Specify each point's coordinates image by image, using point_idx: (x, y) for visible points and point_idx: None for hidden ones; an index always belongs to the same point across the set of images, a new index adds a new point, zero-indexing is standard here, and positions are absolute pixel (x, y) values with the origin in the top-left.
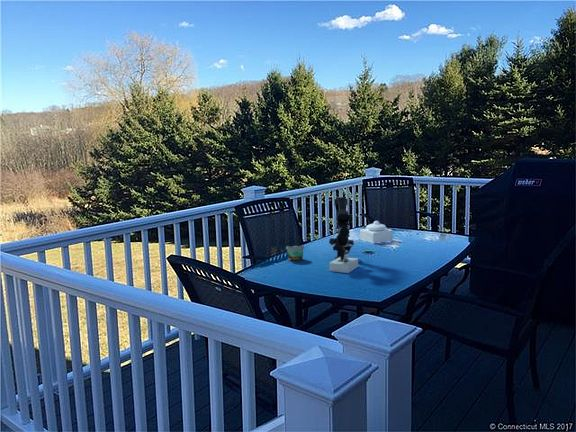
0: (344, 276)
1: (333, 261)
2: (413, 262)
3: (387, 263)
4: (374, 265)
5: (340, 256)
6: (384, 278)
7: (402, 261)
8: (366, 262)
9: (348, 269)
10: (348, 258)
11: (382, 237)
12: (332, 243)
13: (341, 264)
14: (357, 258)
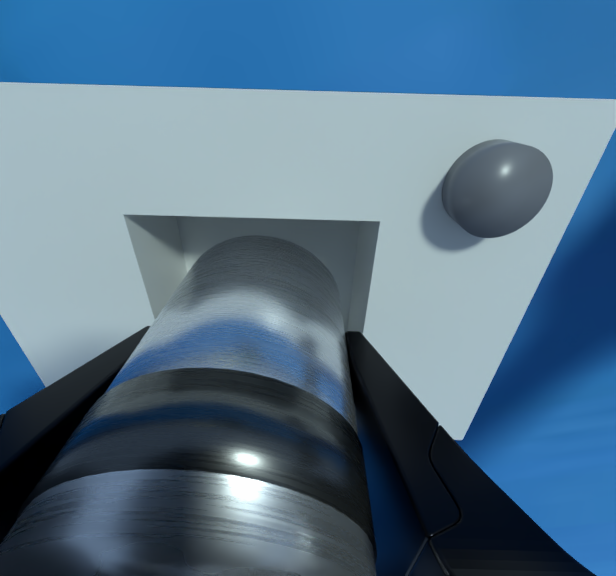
0: (9, 350)
1: (61, 132)
2: (576, 558)
3: (556, 488)
4: (485, 443)
5: (62, 389)
6: None
7: (611, 529)
8: (612, 373)
9: None
10: (446, 336)
11: None
12: None
13: (31, 351)
14: (465, 433)
